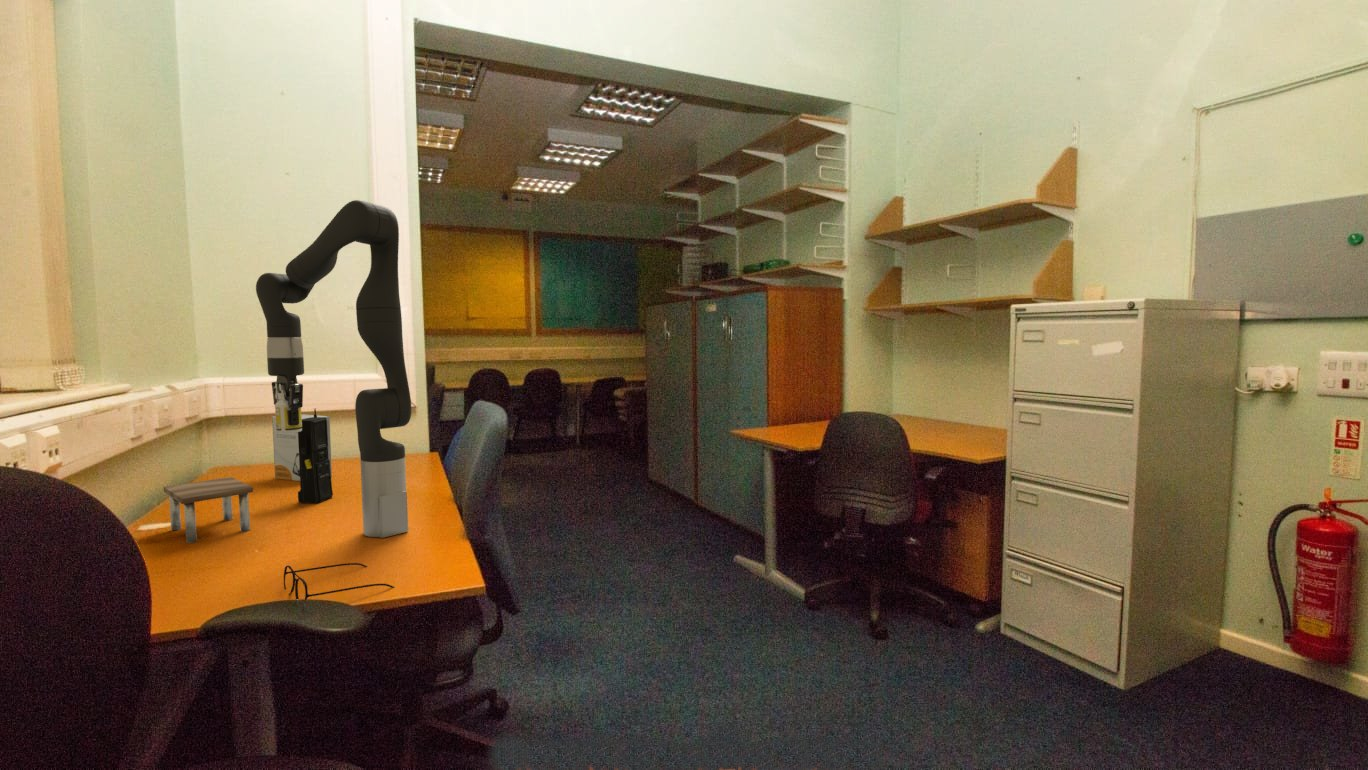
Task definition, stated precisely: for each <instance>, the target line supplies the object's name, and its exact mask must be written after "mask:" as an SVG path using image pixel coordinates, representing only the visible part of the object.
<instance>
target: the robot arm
mask: <svg viewBox="0 0 1368 770" xmlns="http://www.w3.org/2000/svg"><path fill="white" fill-rule="evenodd" d="M399 238H400V233H399V222H398V218H397V216H396V214H395V212H393V211H392V209H390V208H389V207H386V206H383V205H379V204H374V203H371V202H369V201H365V200H359V199H356V200H355V199H354V200H351V201H349V202H347V203H346V204H344V206H342V207H341V209H339V211H338V212H337V213H336V214H335V215H334V217H333V218H332V219H331V220H330V222H329V223H328V224H327V226H326V227H325V228H323V230H322V231H321V233H320V234H319V235H318V236H317V237H316V239H315V240H314V241H313V242H312V243H311V244H310V245H309V246H308V247H306V248H305V250H302V252H301V253H299V254H297V256H295V257H294V258H293V259H291V260H290V261H289V262H288V264H287V265H286V266H285V273H276V272H274V273H273V272H265V273H263V274H261V275H260V276H259V277H258V278H257V281H256V284H255V293H256V296H257V299H258V301H259V304H260V306H261V310H262V312H263V315H264V318H265V321H266V335H267V338H266V339H267V340H266V359H267V363H266V364H267V374H268V375H269V376H270V377H276V381H272V382H271V388H272V389H271V390H272V396H273V405H274V406H275V404H276V403H277V402H279V399H278V393H282V398H283V401H284V402H286V406H287V410H288V411H287V415H288V425H290V426H293V425H298V424H299V412H298V410H299V409H300V408H301V409H302V408H303V406H304V405H303V401H304V399H303V398H304V385H303V383H299V382H298V378H297V376H302V375H304V374H305V362H304V345H303V341H302V325H301V319H300V316H299V315H298V314H295V313H291V312H289V311H287V310H286V309H285V307H284V304H298V303H301V302H303V301H304V300H306V299H307V298H308V296H309V295H310V294H311V292H312V290H313V288H314V286H315V285H316V284H317V283H318V282H320V281H322V280H323V279H324V278H325V277H326V276H328V275H329V274H330V273H331V272H332V271H333V270H334V268H335V266H336V265H337V261H338V254H339V252H340V250H342V249H343V248H344V247H346V246H348V245H350V244H352V243H354V242H356V243H360V244H363V245H369V246H370V247H369V248H370V269H369V270H370V271H369V273H368V275H367V278H366V279H365V281H364V283H363V284H362V287H361V288H360V291H359V293H358V295H357V298H356V301H355V311H356V312H355V314H356V324H357V327H356V328H357V331H358V334H359V336H360V338H361V340H362V341H363V342H364V344H365V345H366V347H367V348H368V349H369V351H370V352H371V353H372V355H374V357H375V358H376V360H377V361H378V362H379V364H380V365H381V366H380V367H381V368H382V370H383V372H384V377H385V380H386V387H385V388H384V387H383V388H371V389H369V388H368V389H363V390H360V391H359V392H358V394H357V395H356V399H355V403H354V404H355V409H354V410H355V411H354V412H355V421H356V431H357V442H358V443H357V444H358V449H359V454H360V455H359V456H360V478H361V479H360V480H361V481H360V483H361V502H362V503H361V505H362V526H363V528H362V529H363V535H364V536H366V537H369V538H370V537H371V538H380V539H384V538H387V537H392V536H395V535H399V534H403V533H408V532H409V519H408V517H409V516H408V513H409V512H408V492H407V478H406V477H407V475H406V472H407V471H406V448H405V445H404V444H403V443H401V442H395V441H391V440H388V439H386V438H383V437H382V434H381V430H382V429H383V430H384V429H394V428H400V427H405V426H407V425H408V424H409V423H410V420H411V417H412V399H411V392H410V387H409V382H408V381H409V379H408V375H407V368H406V361H405V353H404V352H405V351H404V339H403V321H402V319H403V318H402V307H401V300H400V299H401V297H400V285H399V284H400V283H399V242H400V239H399ZM294 402H295V403H294Z"/></svg>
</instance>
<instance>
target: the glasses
mask: <svg viewBox="0 0 1368 770" xmlns="http://www.w3.org/2000/svg"><path fill="white" fill-rule="evenodd" d="M355 565H356V566H361V567H364V568H368V566H367V565H365V564H363V563H359V562H358V563H357V562H347V563H340V564H339V563H338V564H333V565H324V566H318V567H311V568H305V569H304V568H303V569H299V570H294V569H293V568H292V566H291V565H285V567H284V570H283V588H284V589H283V590H287V588H286V575H287V574H291V575H292V586H291V589H290V592H289V593H288V595H292V594H293V593H294V595H295V600H296V599H299V600H300V598H299V586H298V585H299V581H301V582H302V584H303V586H304V587H303V588H304V593H305V594H304V601H305V600H307V599H308V598H310V597H317V596H322V595H328V594H333V593H339V592H344V591H351V590H356V589H363V588H369V587H375V586H376V587H377V586H383V587H384V586H385V587H389V588H393V589H394V588H395V586H394V585H391V584H388V583H372V584H364V585H359V586H358V585H357V586H351V587H348V588H346V587H345V588H340V589H336V590H335V589H334V590H329V591H323V592H319V593H312V594H309V593H308V583H307V582H306V581H305V580H304V578H302V577H300V576H299V575H298V574H297V573H300V572H302V573H303V572H308V571H314V570H315V571H316V570H322V569H327V568H335V567H344V566H355ZM287 569H289V570H290V571H287ZM296 577H297V578H296Z"/></svg>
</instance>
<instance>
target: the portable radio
mask: <svg viewBox="0 0 1368 770" xmlns="http://www.w3.org/2000/svg"><path fill="white" fill-rule="evenodd" d="M313 410H314V414H313V415H314V417H311V418H305V419H302V431H300V432H298V444H299V465H300V481H299V483H300V484H299V485H300V487H299V488H300V489H299V491H297V499H298V500H297V501H298V503H300V504H319V503H321V502H324V501H326V500H328V499H331V498H332V497H333V495H334V492H333V485H332V477H331V471H330V460H329V457H328V433H327V420H326V417H317V410H316V409H313Z"/></svg>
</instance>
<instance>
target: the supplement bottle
mask: <svg viewBox="0 0 1368 770" xmlns="http://www.w3.org/2000/svg"><path fill="white" fill-rule="evenodd" d="M278 399H279V402H277V403H276V404H275V405H274V409H275V410H274V411H275V413H274V414H275V416H276V431H277V433H295V432H300V431H302V416H301V414H302V407H301V408H300V409H299V410H298V412H299V424H298V425H293V426H290V425H288V415H287V411H288V410H287V406H286V402H284V401H283V398H282V393H278ZM294 403H295V402H294Z"/></svg>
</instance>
